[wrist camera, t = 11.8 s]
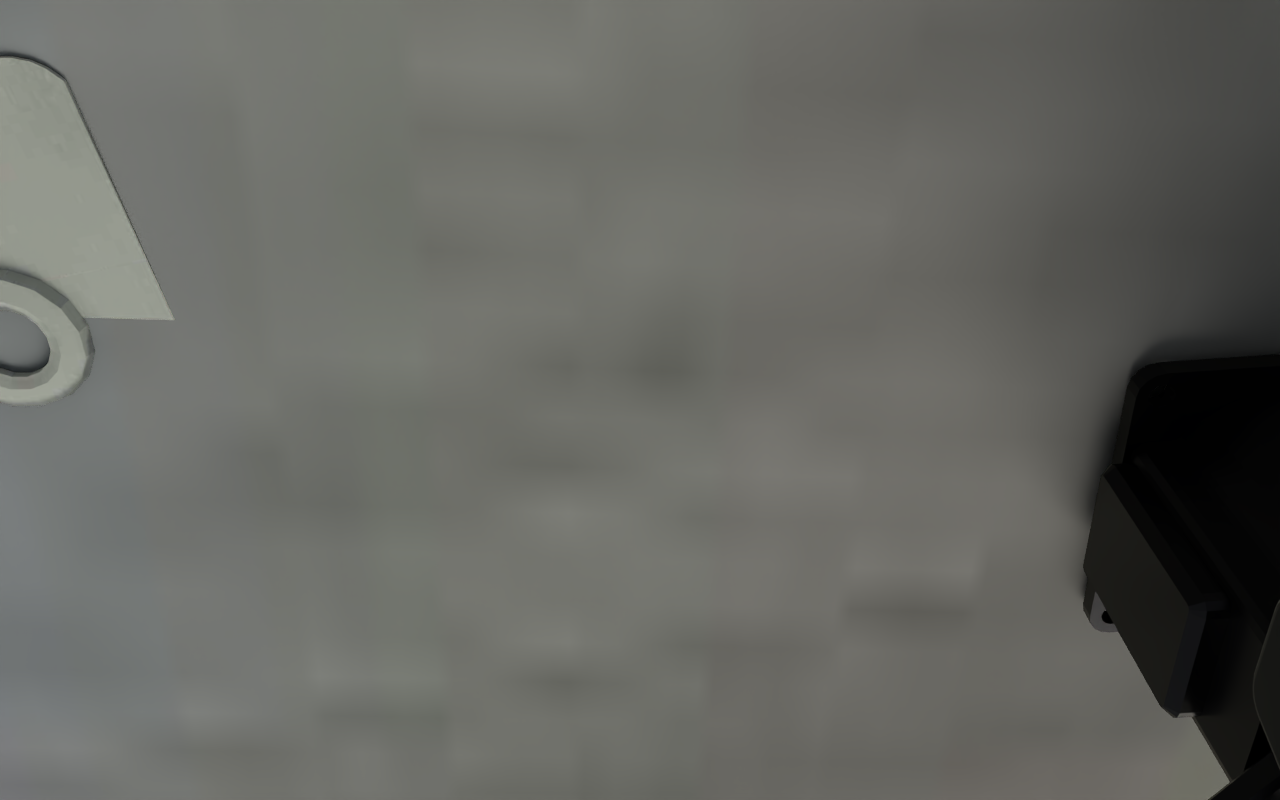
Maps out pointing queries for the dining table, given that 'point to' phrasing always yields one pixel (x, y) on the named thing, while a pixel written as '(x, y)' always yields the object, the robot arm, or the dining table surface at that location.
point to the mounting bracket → (61, 233)
